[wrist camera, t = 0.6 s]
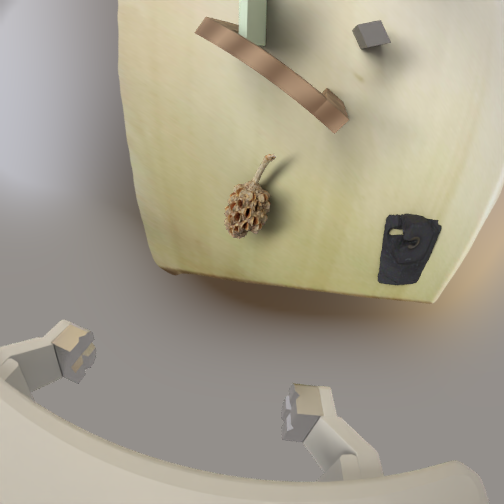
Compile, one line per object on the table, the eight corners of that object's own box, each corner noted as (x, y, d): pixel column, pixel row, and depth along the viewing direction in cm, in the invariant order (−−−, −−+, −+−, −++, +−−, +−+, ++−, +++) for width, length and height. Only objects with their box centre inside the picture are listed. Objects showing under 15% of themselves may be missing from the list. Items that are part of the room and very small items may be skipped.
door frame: (230, 36, 40) (194, 32, 28) (239, 25, 38) (205, 16, 27) (332, 112, 46) (334, 133, 34) (342, 102, 44) (349, 119, 33)
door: (265, 45, 40) (246, 42, 30) (250, 45, 40) (227, 43, 31) (267, -13, 31) (248, -31, 22) (252, -13, 32) (229, -30, 22)
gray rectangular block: (352, 30, 34) (357, 25, 28) (371, 26, 32) (380, 20, 26) (360, 49, 36) (367, 47, 30) (380, 44, 34) (390, 42, 28)
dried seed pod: (264, 228, 69) (255, 254, 61) (228, 215, 69) (214, 239, 62) (292, 149, 53) (285, 167, 46) (248, 134, 54) (233, 150, 46)
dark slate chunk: (368, 277, 71) (369, 290, 67) (387, 208, 56) (390, 219, 53) (417, 283, 67) (420, 295, 64) (444, 218, 53) (450, 229, 50)
